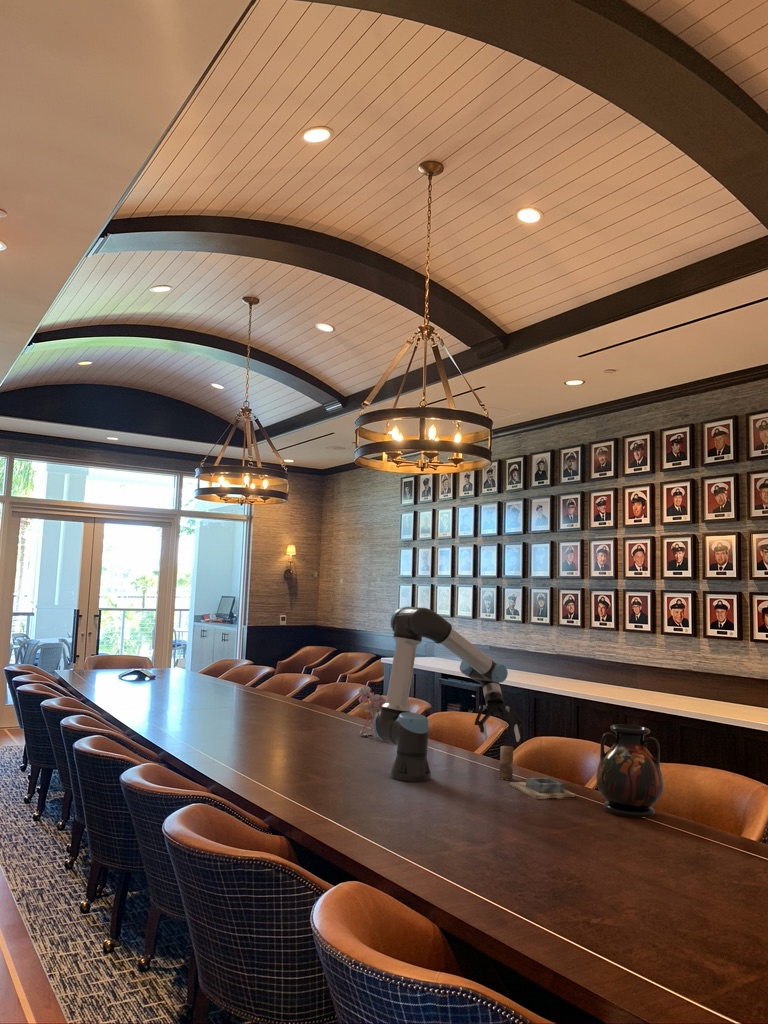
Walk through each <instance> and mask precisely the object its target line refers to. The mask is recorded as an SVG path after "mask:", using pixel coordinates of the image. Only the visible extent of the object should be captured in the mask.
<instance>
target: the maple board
mask: <svg viewBox="0 0 768 1024" xmlns="http://www.w3.org/2000/svg"><path fill="white" fill-rule="evenodd" d="M510 785H511V786H512V788H513V787H514V789H515V788H516V789H515V790H517V789H518V790H517V791H519V790H520V791H519V792H521V793H523V794H525V795H527V796H530V797H531V798H533V799H535V800H548V799H549V798H557V799H564V798H563V797H575V796H576V797H577V795H576V793H573V792H571V791H569V790H567V789H565V783H563V782H561V781H559V780H556V779H554V778H552V777H527V778H525V781H510V782H509V786H510ZM511 786H510V787H511ZM547 798H548V799H547Z"/></svg>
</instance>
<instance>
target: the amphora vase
mask: <svg viewBox="0 0 768 1024" xmlns="http://www.w3.org/2000/svg"><path fill="white" fill-rule="evenodd" d="M609 727H610V730H611V731H613V732H614V733H615V734H616V735H614V734H613V733H611V732H605V733H603V735H602V737H601V739H600V747H599V748H600V751H599V752H600V753H599V762H598V766H597V770H596V774H595V775H596V777H595V779H596V786H597V789H598V791H599V792H600V793H599V794H600V795H601V796H602V798H603V799H604V800H606V801H605V802H604V803H603V804H602V805H603V808H604V810H605V811H606V812H608V813H610V814H612V815H615V816H618V815H619V817H623V816H624V818H629V817H633V818H632V819H643V818H642V817H648V818H650V817H649V816H651V817H653V816H654V815H655V813H656V812H655V809H654V808H655V807H653V806H654V805H656V803H657V802H658V801H659V799H660V798H661V797H662V794H663V791H664V780H663V774H662V771H661V751H660V750H661V749H660V743H659V742H658V739H657V738H655V737H652V736H649V737H647V738H645V736H646V735H649V734H650V733H651V730H650V729H649V727H648V728H647V727H645V726H641V725H633V724H619V723H618V724H612V725H610V726H609ZM607 737H611V738H612V740H613V744H612V746H611V747H610V748H609V749H607V751H605V741H606V738H607ZM644 738H645V739H644ZM648 742H652V743H654V745H655V758H654V756H653V755H652V754H651V752H650V751H649V750H648V748H647V745H648ZM652 815H653V816H652Z"/></svg>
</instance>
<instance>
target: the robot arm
mask: <svg viewBox="0 0 768 1024" xmlns="http://www.w3.org/2000/svg"><path fill="white" fill-rule="evenodd" d="M389 622H390V628H391V630H392V632H393V636H392V638H393V639H394V641H395V647H394V653H393V658H392V665H391V671H390V677H389V683H388V688H387V695H386V698H387V699H386V703H384V704H383V705H382V706H381V711H380V712H378V714H377V715H376V716H375V718H374V719H373V720H374V721H373V723H372V728H373V729H372V730H373V732H374V734H375V735H376V737H377V738H378V739H379V740H381V741H383V742H385V743H389V744H393V745H396V755H395V756H396V757H395V759H394V762H393V765H392V767H391V770H390V778H392V779H394V780H398V781H402V782H403V781H404V782H409V783H410V782H411V783H412V782H415V783H418V782H420V783H421V782H422V783H423V782H427V781H430V780H431V779H432V776H431V775H432V773H431V769H430V764H429V760H428V746H429V745H428V744H429V730H430V726H429V720H428V718H427V716H425V715H423V714H421V713H415V712H411V710H410V708H409V707H408V702H409V697H410V690H411V685H412V680H413V679H412V677H413V674H414V673H413V672H414V666H415V659H416V654H417V649H418V648H417V647H418V646H419V645H420V644H422V640H423V638H425V639H428V640H431V641H432V642H434V644H437V645H438V644H441V645H442V646H444V647H445V648H446V649H448V651H450V652H451V653H452V654H454V655H455V656H456V657H458V658H459V659H461V662H460V665H459V671H460V672H461V673H462V674H463V675H465V676H466V677H467V678H470V679H471V680H473V681H475V682H477V683H479V684H480V685H481V687H482V691H483V697H484V701H485V704H483V703H480V704H479V707H478V713H477V715H476V718H475V720H474V724H473V725H475V726H478V728H479V732H480V733H481V734H482V735H483V741H484V742H487V740H488V731H487V728H486V721H488V720H489V718H490V717H491V716H492V717H502V718H503V719H505V720H506V721H508V722H509V723H510V724H511V725H512V726H513V731H514V735H515V740H516V743H517V742H518V743H519V742H520V740H521V736H520V735H521V731H522V730H521V727H523V724H524V721H523V720H522V718H521V717H520V716H519V715H518V713H517V712H516V711H515V709H514V708H513V706H512V704H509V705H505V703H504V699H503V694H502V690H501V689H502V688H501V686H500V685H501V684H500V683H503V682H505V681H506V680H507V677H508V674H509V673H508V669H507V666H505V665H504V664H502V663H498V662H495V661H494V660H493V659H491V658H490V657H489V656H487V655H486V654H485V653H484V652H482V651H481V650H480V649H479V648H477V646H475V645H473V644H472V643H471V642H470V641H469V640H468V639H466V638H465V637H464V636H463V635H461V634H460V633H458V632H457V631H456V630H455V629H454V628H453V626H452V624H451V623H450V622H449V621H447V619H445V618H444V617H443V616H441V615H440V614H438V613H437V612H435V611H434V610H432V609H430V608H428V607H415V606H401V607H399V608H397V609H396V610H395V611H394V612H393V614H392V615H391V617H390V621H389ZM485 710H486V713H485V715H484V716H483V717H482V719H481V716H482V714H483V712H484V711H485ZM480 719H481V720H480Z"/></svg>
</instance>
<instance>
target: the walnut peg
mask: <svg viewBox="0 0 768 1024" xmlns="http://www.w3.org/2000/svg"><path fill="white" fill-rule="evenodd" d="M513 771H514V747H513V746H509V745H502V746H500V756H499V777H500V778H503V779H512V780H513ZM500 778H499V779H500Z"/></svg>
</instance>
